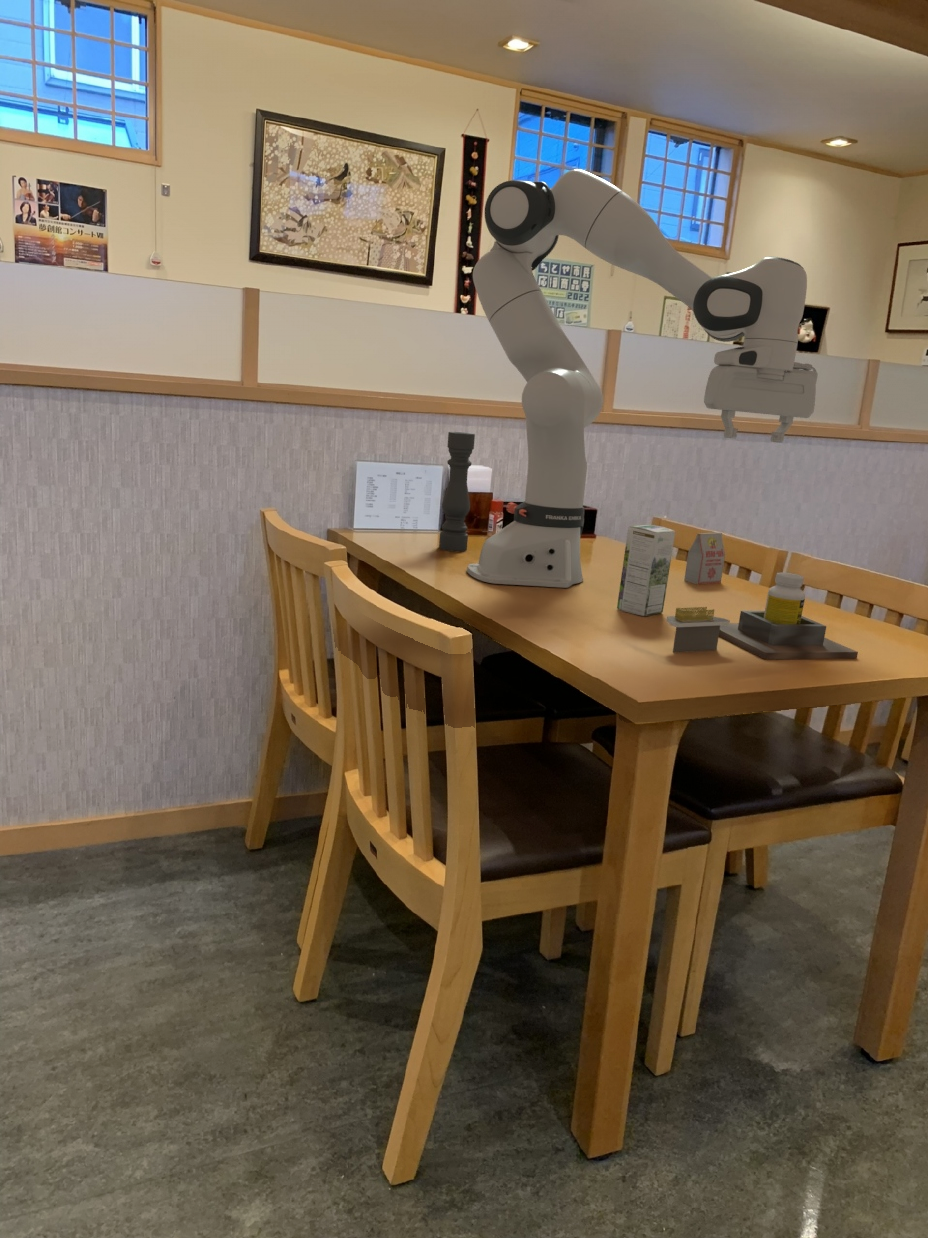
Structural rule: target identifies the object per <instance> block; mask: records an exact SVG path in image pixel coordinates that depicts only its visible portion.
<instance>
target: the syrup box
mask: <svg viewBox="0 0 928 1238" xmlns="http://www.w3.org/2000/svg"><path fill="white" fill-rule="evenodd" d="M675 535H676V531H675V529H670V528H667V527H665V526H660V525H654V524H645V525H644V524H643V525H632V526H628V528H627V535H626V541H625V548H624V556H623V562H622V571H621V576H620V577H621V578H620V582H619V583H620V585H619V591H618V598H617V603H616V604H617V605H616V609H617V610H618V611H622V612H625V613H630V614H632V615H637V616H641V617H649V616H652V615H658V614H661V613H664V606H665V600H666V594H667V587H668V582H669V575H670V567H671V562H672V557H673V550H674V549H673V548H674V542H675Z"/></svg>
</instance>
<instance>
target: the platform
mask: <svg viewBox="0 0 928 1238" xmlns="http://www.w3.org/2000/svg"><path fill="white" fill-rule="evenodd" d="M714 615H715V609H708V608H707V606H695V607H694V606H693V607H692V606H690V607H684V608H680V607H675V615H671V616H669V615H668V616H666V622H667V623H668V625H669V626H672V627H674V628H675V632H674V640H673V645H672V648H673V649H672V653H674V654H675V652H676V653H687V652H689V653H690V652H702V651H704V652H705V651H717V650H718V645H719V644H718V643H719V637H720V636H719V631H720V625H729V623H731V621H730V620H729V619H726V618H724V617H718V616H714Z"/></svg>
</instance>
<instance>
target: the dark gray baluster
mask: <svg viewBox="0 0 928 1238" xmlns="http://www.w3.org/2000/svg"><path fill="white" fill-rule="evenodd" d="M475 437H476V434H475V433H472V432H471V433H470V432H461V431H448V434H447V448H448V453H449V456H450V458H449V459H448V460H447V465H448V466H449V476H448V478H449V479H448V484H447V488H446V490H445V493H444V497H443V501H442V503H441V509H442V511H443V514H444V515H445V516H444V517H445V521H444V522H443V524H441V530H442V531H440V533H439V541H438V543H439V544H438V549H440V550H442V551H448V552H466V551H467V550H468V540H469V534H468V533H467V531H468V526H467V524H466V522H465V520H466V517H467V516H468V515H469V512H470V509H471V501H470V495H469V494H470V493H469V488H468V473H469V471H468V470H469V468H470V467H471V466H472V461H471V460H469V459H470V457H471V455H472V454H473V450H474V449H475V439H476V438H475Z"/></svg>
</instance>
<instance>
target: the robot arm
mask: <svg viewBox="0 0 928 1238" xmlns="http://www.w3.org/2000/svg"><path fill="white" fill-rule="evenodd" d="M484 220H485V221H484V222H485V225H486V227H487V229H488V232H489V234H490V235H491V237H493V239H494V240H495V241H494V243H493V246H492V247H491V248H490V250H489V251H488V252H486V253H485V254H484V255H483V256H480V258H479V259H478V261H477V262H476V264H475V265H474V267H473V271H472V281H473V284H474V287H475V290H476V291H475V292H476V293H477V298H478V300H479V302H480V305H481V307H482V310H483V312H484V315H485V316H486V318H487V321H488V322H489V324H490V326H491V328H492V330H493V332H494V334H495V335H496V337H497V340H498V341H499V343H500V345H501V347H502V349H503V351H504V352H505V355H506V356H507V359H508V360H509V361H510V363H511V364H512V365H513V366H514V367H515V368H516V370H517V371H518V372H519V373H520V375H522V377H523V379H524V380H525V382H526V384H525V386H524V388H523V390H522V393H521V405H522V410H523V412H524V415H525V428H526V440H527V442H526V443H527V457H528V460H527V461H528V462H527V463H528V464H527V475H526V484H525V485H526V486H525V496H524V498H525V499H524V501H523V502H521V503H520V504H517V503H514V502H512V501H510V502H508V503H507V504H506V506H505V508H506V509H505V510H506V511H507V512H508V513H510V514H511V515H513V521H512V522H510V523H509V524H507V525H506V526H504V527H503V528H501V529H499V531H497V532H496V533H494V534H492V535H491V536H489V538H487V539H486V540H485V541H484V542H483V545H482V547H481V551H480V554H479V555H480V556H479V559H478V563H469V564H468V565H467V567H466V572H467V573H468V575H470V576H471V577H473V578H474V579H476V580H478V581H482V582H485V583H488V584H489V583H490V584H496V585H497V584H499V585H517V586H533V587H548V588H564V589H565V588H570V587H571V586H572V585H575V584H579V583H582V582H583V581H584V578H583V577H584V576H583V572H582V564H581V563H582V561H581V536H582V534H583V531H584V529H583V528H584V524H585V507H584V498H585V490H586V480H587V479H586V478H587V472H588V463H587V459H586V452H585V451H586V450H585V428H586V427H588V426H590V425H591V424H592V423H594V422H595V420H596V419H597V418H598V417H599V416H600V413H601V411H602V410H603V409H602V408H603V406H604V394H603V391H602V389H601V387H600V385H599V383H598V382H597V380H596V379H595V378H594V376H593V374H592V373H591V371H590V370H589V368H588V366H587V364H586V363H585V362H584V360H583V358H582V357H581V356H580V353H578V350H576V348H575V346H574V345H573V344H572V342H571V341H570V339H569V338H568V337H567V335H566V334H565V332H564V331H563V329H562V327H561V324H560V323H559V321H558V320H557V317H556V315H555V314H554V312H553V310H552V308H551V306H550V304H549V302H548V300H547V298H546V297H545V294H544V293H543V291H542V289H541V287H540V285H539V283H538V282H537V279H536V278H535V275H534V273H533V271H535V270H536V269H537V268H538V267H539V265H540V264H541V263H542V262H543V260H544V259H546V258H547V257H548V255H550V254H551V253H552V251H553V250H554V249H555V247H556V245H557V243H558V240H559V236H566V237H567V238H570V239H572V240H574V241H575V242H576V243H578V244H579V245H581V246H582V247H583V248H585V250H587V251H588V252H590V253H592V254H593V255H594V256H596V257H598V258H599V259H601V260H603V261H605V262H607V263H609V264H611V265H612V266H616V267H618V268H620V269H622V270H625V271H627V272H629V273H633V274H635V275H638V276H640V277H643V278H645V279H648V280H649V281H651V282H653V283H655V284H656V285H658V286H659V287H661V288H663V289H664V290H665V291H667V292H668V293H670V295H672V296H673V297H674V298H676V299H677V300H678V301H681V303H683V304H684V305H686V307H688V309H690V310H691V311H692V312H693V315H694V317H695V320H696V322H697V323H698V325H700V327H701V328H702V329H703V331H705V333H706V335H708V336H709V337H711V338H712V339H714V340H716V341H718V342H723V343H725V342H726V343H727V342H734V341H737V340H740V339H742V338H743V337H744V339H743V344H742V346H738V347H734V348H729V349H725V350H720V351H717V352H716V353H715V354H714V359H713V364H715V365H716V366H714V367H712V369H711V371H710V373H709V375H708V377H707V381H706V386H705V389H704V391H705V392H704V397H703V402H704V405H705V407H706V408H707V409H710V410H720V411H721V414H720V418H721V421H722V423H723V426H724V433H723V436H724V438H725V439H735V440H736V438H737V437H738V429H739V428H737V427H736V428H735V427H734V423H733V418H735V417H736V412H740V413H741V412H742V413H752V414H753V413H754V414H759V415H760V414H761V415H762V414H763V415H772V416H773V415H774V416H779V419H778V422H779V423H780V424H779V426H778V427H777V429H776V430H775V431H771V434H770V436H771V437H770V442H773V443H779V444H782V443H783V442H784V439H785V434H786V432H787V431H788V430H789V429H790V427H791V426H792V424H793V421H794V418H800V419H803V418H804V419H809V418H810V417H811V416H813V415H812V414H813V413H814V411H815V406H816V395H817V394H816V392H817V391H816V390H817V389H816V388H817V387H816V386H817V380H818V372H817V369H816V368H815V367H813V365H812V364H810V363H802V362H797V361H796V360H795V359H796V353H797V350H798V342H799V336H798V331H799V325H800V322H801V321H802V319H803V315H804V311H805V305H806V298H807V297H806V296H807V289H808V276H807V272H806V270H805V269H804V267H803V266H802V265H801V264H800V263H798V262H796V261H794V260H791V259H789V258H788V259H787V258H785V257H784V258H783V257H778V256H765V257H763V258H761V260H759V261H758V262H756V263H754V264H753V265H750V266H748V267H746V268H743V269H741V270H738V271H735V272H732V273H727V274H722V275H719V276H714V277H712V276H710V275H709V274H708V273H706V272H705V271H704V270H702V269H701V268H700V267H698V266H697V265H696V264H694V263H693V262H691V261H690V260H689V259H688V258H686V257H685V256H683V254H680V253H679V251H677V250H676V249H675V247H673V246H672V245H671V243H670V242H669V241H668V239H667V238H666V237H665V234H663V232H662V231H661V229H660V227H659V226H658V224H657V223H656V222H655V220H654V219H653V218H652V216H651V215H650V214H649V213H648V211H646V209H644V208H643V207H642V206H641V205H640V203H638V202H637V201H636V200H635V199H634V198H632V196H630V195H629V194H628V193H627V192H625V191H623V190H622V189H620V187H618V186H615V185H614V184H613V183H610V182H609V181H607V180H605V179H604V178H601V177H599V176H597V175H595V174H593V173H591V172H589V171H586V170H584V169H579V168H575V169H571V170H568V171H566V172H565V173H563V174H562V175H561V176H560V177H559V178H558V179H557V180H556V182H555V184H554V185H553V186H552V187H550V186H549V185H548V184H547V183H546V182H544V181H528V180H520V179H519V180H518V179H517V180H516V179H514V180H513V179H512V180H506V181H503V182H502V183H499V184H497V185H496V186H495V187H494V188H493V189H492V190H491V192H490V193H489V194H488V196H487V198H486V201H485V206H484Z"/></svg>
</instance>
